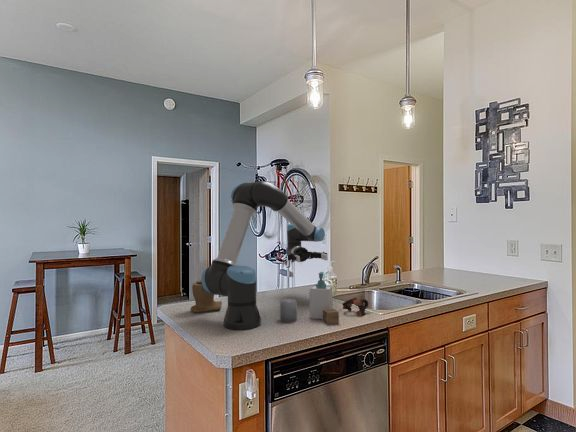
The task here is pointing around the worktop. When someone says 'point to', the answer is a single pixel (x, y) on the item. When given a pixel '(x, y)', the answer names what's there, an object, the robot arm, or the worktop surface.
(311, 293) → the soap bottle
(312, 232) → the robot arm
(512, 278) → the worktop surface
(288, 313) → the slate grey tub
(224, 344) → the worktop surface
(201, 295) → the brown boot
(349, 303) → the brown arched figurine
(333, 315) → the walnut block
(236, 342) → the worktop surface
